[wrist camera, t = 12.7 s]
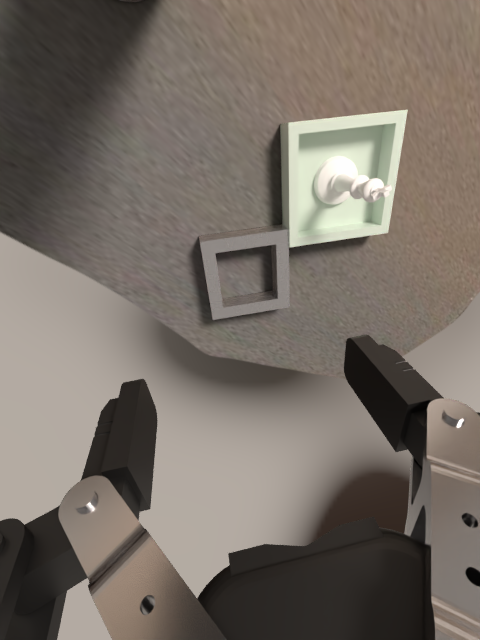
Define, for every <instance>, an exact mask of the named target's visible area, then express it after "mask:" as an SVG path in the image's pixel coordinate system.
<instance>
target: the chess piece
mask: <svg viewBox="0 0 480 640" xmlns="http://www.w3.org/2000/svg"><path fill="white" fill-rule="evenodd" d="M314 190H315V193H316V195H317V197H318V198H319V200H320V201H322V202H323V203H326V204H332V205H335V204H340V203H342V202H344V201H345V200H347V199H348V198H349V197H350V196H351V197H353V198H354V199H361V198H363V199H364V200H365V201H366V202H370V203H371V202H375V201H377V200H378V199H379V198H380V197H384V198H385V197H387V196H389V195H390V194H389V191H391V190H392V187H391V185H389V184H388V185H386V186H384V184H383V182H382V181H381V180H380V179H378V178H373V179H369V178H368V177H367V176H365V175H359V176H358V171H357V168H356V166H355V164H354V163H353V162H352V161H351V160H350V159H348V158H346V157H343V156H335V157H332V158H329V159H328V160H326V161H325V162H324V163H323V164H322V165H321V166H320V167H319V169H318V171H317V173H316V175H315V179H314Z"/></svg>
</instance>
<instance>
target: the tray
mask: <svg viewBox="0 0 480 640" xmlns="http://www.w3.org/2000/svg"><path fill="white" fill-rule="evenodd" d="M407 111H408V110H400V111H391V112H382V113H373V114H364V115H354V116H345V117H336V118H327V119H318V120H309V121H300V122H290V123H284V124H280V138H281V184H282V224H283V225H284V226H285V227H287V228H288V229H289V247H296V246H303V245H310V244H316V243H323V242H330V241H336V240H343V239H350V238H357V237H363V236H370V235H377V234H383V233H388V229H389V223H390V216H391V210H392V204H393V198H394V192H395V185H396V179H397V173H398V167H399V160H400V154H401V148H402V142H403V135H404V129H405V123H406V117H407ZM335 156H343V157H346V158H348V159H350V160H351V161H352V162H353V163H354V164H355V166H356V168H357V171H358V176H359V175H365V176H367V177H368V178H369V179H373V178H378V179H380V180H381V181H382V182H383V184H384V186H386V185H388V184H389V185H391V187H392V190H391V191H389V194H390V195H389V196H387V197H385V198H384V197H380V198H379V199H378V200H377V201H375V202H371V203H370V202H366V201H365V200H364V199H363V198H361V199H354V198H353V197H351V196H350V197H349V198H348V199H347V200H345V201H344V202H342V203H340V204H335V205H332V204H326V203H323V202H322V201H320V200H319V198H318V197H317V195H316V193H315V190H314V179H315V175H316V173H317V171H318V169H319V167H320V166H321V165H322V164H323V163H324V162H325V161H326V160H328V159H329V158H332V157H335Z"/></svg>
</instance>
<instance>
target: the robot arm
mask: <svg viewBox="0 0 480 640" xmlns="http://www.w3.org/2000/svg"><path fill="white" fill-rule="evenodd" d="M120 1H124V2H138V1H143V0H120ZM344 373H345V377H346V379H347V381H348V383H349V385H350V386H351V387H352V389H353V390H354V392H355V393H356V395H357V396H358V398H359V399H360V400H361V402H362V403H363V405H364V406H365V408H366V409H367V410H368V412H369V414H370V415H371V417H372V418H373V419H374V421H375V422H376V424H377V425H378V427H379V428H380V430H381V431H382V432H383V434H384V435H385V437H386V438H387V440H388V441H389V443H390V444H391V446H392V447H393V449H394V450H395V451H396V452H398V451H403V450H407V449H408V450H409V451H410V453H411V454H412V459H411V471H410V489H409V505H408V515H407V521H406V526H405V533H404V534H403V533H400V532H397V531H394V530H389V529H384V528H379V526H378V524H377V522H376V520H375V519H374V517H371V518H367V519H363V520H359V521H355V522H351V523H347V524H343V525H339V526H338V527H336V528H334V529H333V530H331V531H330V532H328V533H327V534H325V535H323V536H322V537H320V538H319V539H317V540H316V541H314V542H312V543H311V544H309V545H307V546H287V545H269V544H264V545H260V546H256V547H252V548H248V549H244V550H241V551H237V552H233V553H229V563H230V565H229V566H228V567H226V568H225V569H223V570H222V571H221V572H220V573H218V574H217V575H216V576H215V577H214V578H213V579H212V580H211V581H210V582H209V583H208V584H207V585H206V587H205V588H204V589H203V591H202V592H201V593H200V595H199V597H198V598H196V597H195V595H194V594H193V593H192V592H191V590H190V589H189V587H188V586H187V585H186V583H185V582H184V580H183V579H182V578H181V577H180V575H179V574H178V572H177V571H176V569H175V568H174V567H173V565H172V564H171V563H170V561H169V560H168V559H167V557H166V556H165V555H164V553H163V552H162V550H161V549H160V548H159V546H158V545H157V543H156V542H155V541H154V539H153V538H152V537H151V535H150V534H149V533H148V532H147V530H146V529H144V528H143V526H142V525H141V524H140V522H139V521H138V519H139V512H140V511H144V510H148V509H150V504H151V492H152V481H153V468H154V456H155V444H156V432H157V413H156V408H155V405H154V402H153V400H152V397H151V394H150V392H149V389H148V387H147V384H146V382H145V380H144V379H139V380H135V381H130V382H125V383H123V384H122V386H121V390H120V395H119V398H115V399H110V400H109V402H108V403H107V405H106V406H105V407H104V409H103V410H102V411H101V414H100V417H99V421H98V427H97V428H96V431H95V437H94V438H93V441H92V445H91V448H90V452H89V455H88V459H87V462H86V466H85V469H84V472H83V476H82V479H81V481H80V482H78V483H77V484H76V485H75V486H73V487H72V488H71V489H70V490H69V491H68V493H67V494H66V495H65V497H64V498H63V500H62V502H61V504H60V506H58V507H57V508H55V509H53V510H52V511H50V512H48V513H46V514H44V515H42V516H40V517H38V518H36V519H35V520H33V521H31V522H29V523H27V524H25V525H24V524H23V523H22V522H21V521H19V520H18V519H6V520H2V521H0V640H57V636H58V631H59V627H60V622H61V617H62V612H63V607H64V603H65V598H66V593H67V590H69V589H70V588H72V587H73V586H75V585H76V584H78V583H80V582H81V581H83V580H84V579H86V578H88V579H89V583H90V584H89V585H88V588H89V591H90V594H91V596H92V598H93V601H94V603H95V605H96V607H97V609H98V610H99V613H100V615H101V617H102V619H103V621H104V623H105V625H106V627H107V630H108V631H109V634H110V636H111V638H112V640H480V413H477V412H475V411H474V410H473V409H472V408H471V407H469V406H468V405H466V404H464V403H462V402H459V401H456V400H452V399H447V398H443V397H442V396H441V395H440V394H439V393H438V392H437V391H436V390H435V389H434V388H433V387H432V386H431V385H430V384H429V383H428V382H427V381H426V380H425V379H424V378H423V377H422V376H421V375H420V374H419V373H418V372H417V371H416V370H413V367H412V366H411V365H409V363H408V362H405V359H404V358H403V357H402V356H400V355H399V354H398V353H397V352H396V351H395V350H393V349H391V348H389V347H387V346H385V345H378V344H377V343H376V342H375V341H374V340H373V339H372V338H371V337H370V336H369V335H362V336H357V337H352V338H348V339H347V341H346V350H345V361H344Z"/></svg>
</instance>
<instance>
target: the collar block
mask: <svg viewBox="0 0 480 640" xmlns="http://www.w3.org/2000/svg"><path fill="white" fill-rule="evenodd" d="M199 241H200V247H201V252H202V258H203V264H204V270H205V276H206V282H207V288H208V294H209V300H210V306H211V312H212V318H213V320H216V319H222V318H228V317H234V316H240V315H246V314H252V313H258V312H264V311H270V310H275V309H281V308H287V307H290V303H289V229H288V228H287V227H285V226H284V225H283V224H279V225H272V226H265V227H258V228H251V229H244V230H237V231H230V232H223V233H216V234H209V235H201V236H199ZM268 245H271V259H272V283H273V290H272V291H266V292H260V293H254V294H248V295H241V296H235V297H229V298H223V299H222V296H221V289H220V282H219V275H218V268H217V261H216V254H215V253H220V252H227V251H234V250H241V249H248V248H254V247H261V246H268Z"/></svg>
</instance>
